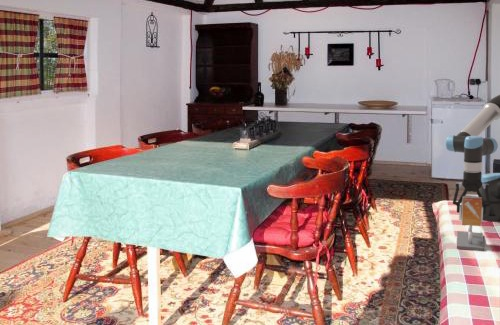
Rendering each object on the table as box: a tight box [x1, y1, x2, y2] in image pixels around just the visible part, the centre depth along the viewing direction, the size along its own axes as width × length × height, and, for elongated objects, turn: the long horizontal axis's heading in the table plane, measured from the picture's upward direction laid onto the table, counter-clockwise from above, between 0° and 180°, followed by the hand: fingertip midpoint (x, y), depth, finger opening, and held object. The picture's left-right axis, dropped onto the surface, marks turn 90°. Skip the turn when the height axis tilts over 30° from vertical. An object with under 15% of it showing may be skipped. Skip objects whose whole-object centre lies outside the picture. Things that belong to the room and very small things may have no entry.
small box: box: [460, 194, 482, 227], centre depth 248 cm, size 8×6×13 cm
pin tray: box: [456, 225, 485, 252], centre depth 250 cm, size 22×11×6 cm, turn 159°
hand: (470, 220), depth 249 cm, fingers closed on small box, 8 cm apart
